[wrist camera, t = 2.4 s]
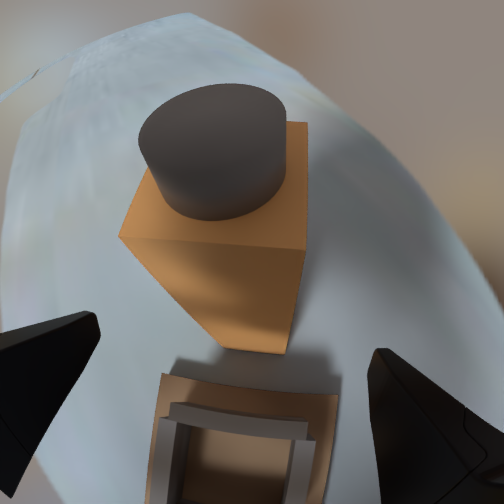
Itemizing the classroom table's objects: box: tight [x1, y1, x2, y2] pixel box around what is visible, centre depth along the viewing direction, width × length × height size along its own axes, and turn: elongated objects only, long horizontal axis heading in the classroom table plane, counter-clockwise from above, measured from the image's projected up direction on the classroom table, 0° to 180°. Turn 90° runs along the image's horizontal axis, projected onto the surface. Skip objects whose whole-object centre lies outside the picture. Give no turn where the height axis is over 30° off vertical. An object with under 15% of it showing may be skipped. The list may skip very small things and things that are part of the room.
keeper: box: [145, 373, 338, 504], centre depth 11 cm, size 14×11×4 cm
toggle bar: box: [118, 84, 308, 355], centre depth 12 cm, size 4×4×16 cm
